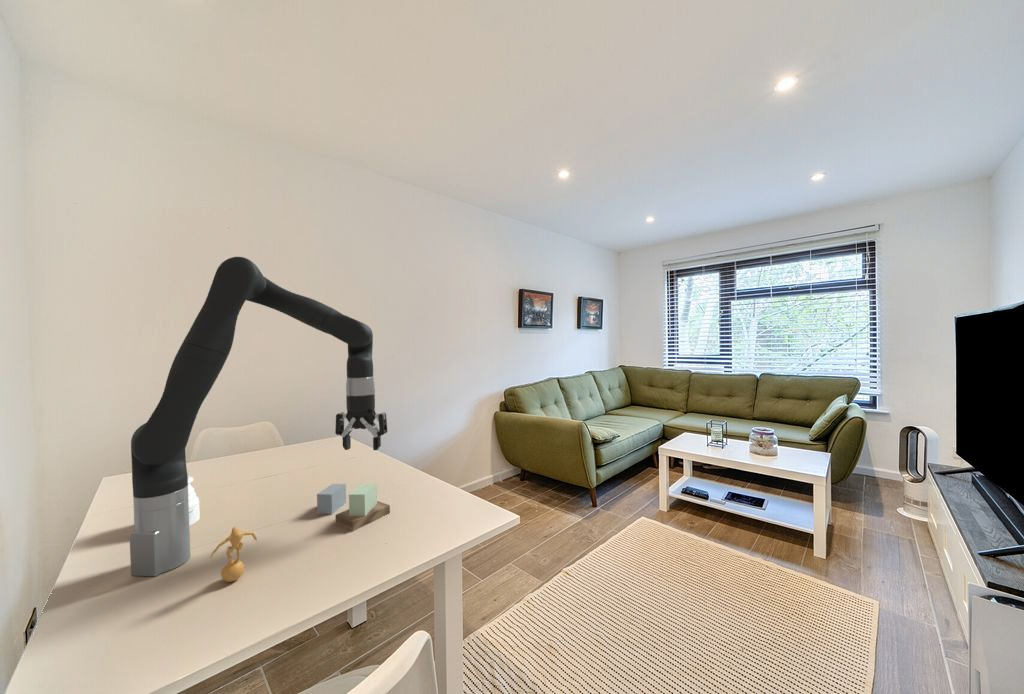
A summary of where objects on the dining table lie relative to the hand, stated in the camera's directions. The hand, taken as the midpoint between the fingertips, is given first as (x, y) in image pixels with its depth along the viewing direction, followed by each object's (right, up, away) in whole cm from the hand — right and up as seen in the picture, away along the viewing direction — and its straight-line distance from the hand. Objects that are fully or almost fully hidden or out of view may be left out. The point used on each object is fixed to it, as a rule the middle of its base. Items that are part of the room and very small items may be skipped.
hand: (361, 449), depth 107 cm
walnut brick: (0, -20, +1) cm, 20 cm away
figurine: (-16, -21, -27) cm, 38 cm away
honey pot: (-54, -21, -1) cm, 58 cm away
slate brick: (-12, -20, +8) cm, 25 cm away
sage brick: (0, -17, +1) cm, 17 cm away
